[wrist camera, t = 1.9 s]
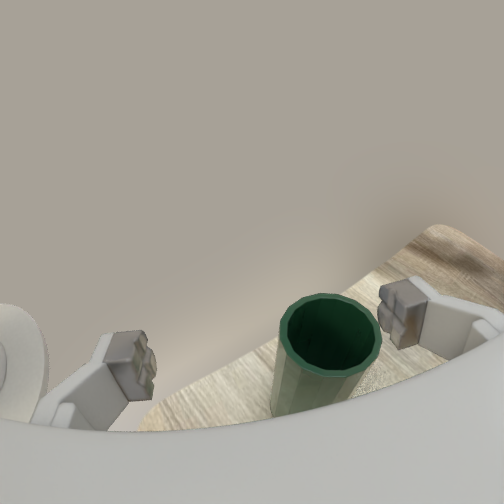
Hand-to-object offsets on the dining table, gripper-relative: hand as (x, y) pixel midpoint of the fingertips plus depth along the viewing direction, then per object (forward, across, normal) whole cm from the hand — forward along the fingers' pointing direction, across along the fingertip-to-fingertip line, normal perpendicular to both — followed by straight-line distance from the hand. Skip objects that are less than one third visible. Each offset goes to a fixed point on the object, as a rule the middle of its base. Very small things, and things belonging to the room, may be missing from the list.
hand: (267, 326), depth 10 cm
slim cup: (+10, -3, +18) cm, 21 cm away
